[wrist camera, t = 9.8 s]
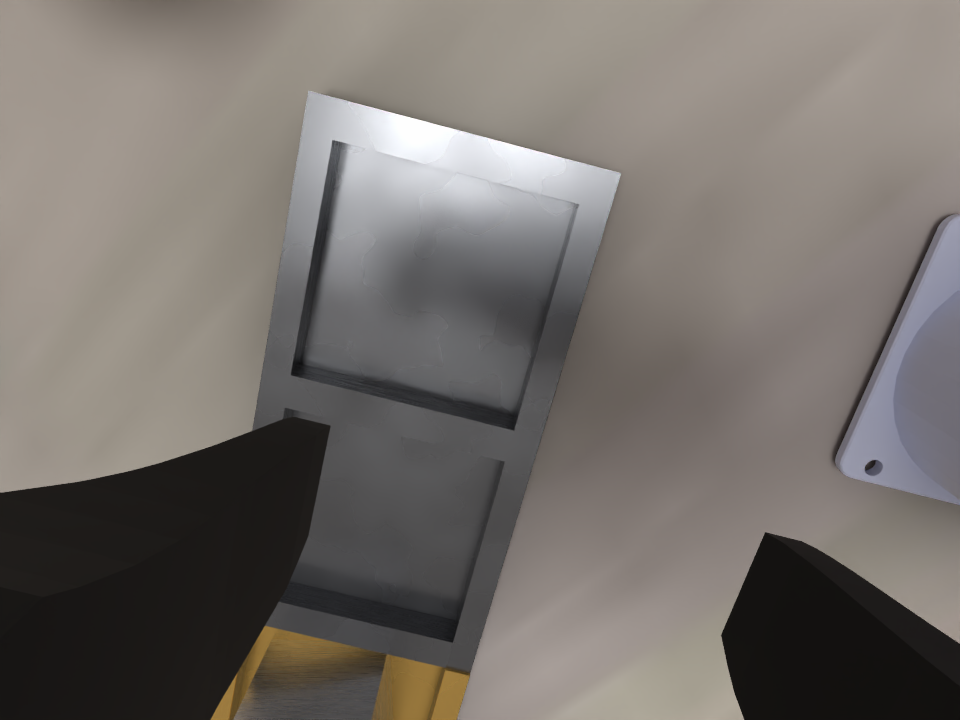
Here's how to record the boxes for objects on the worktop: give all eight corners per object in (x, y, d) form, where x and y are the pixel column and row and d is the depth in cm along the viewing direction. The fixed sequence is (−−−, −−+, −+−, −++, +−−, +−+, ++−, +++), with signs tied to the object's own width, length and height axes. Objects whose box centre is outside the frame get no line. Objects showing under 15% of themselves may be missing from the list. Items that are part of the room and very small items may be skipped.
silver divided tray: (612, 171, 19) (621, 173, 17) (423, 803, 26) (418, 844, 24) (323, 95, 18) (307, 90, 17) (210, 755, 25) (191, 794, 24)
